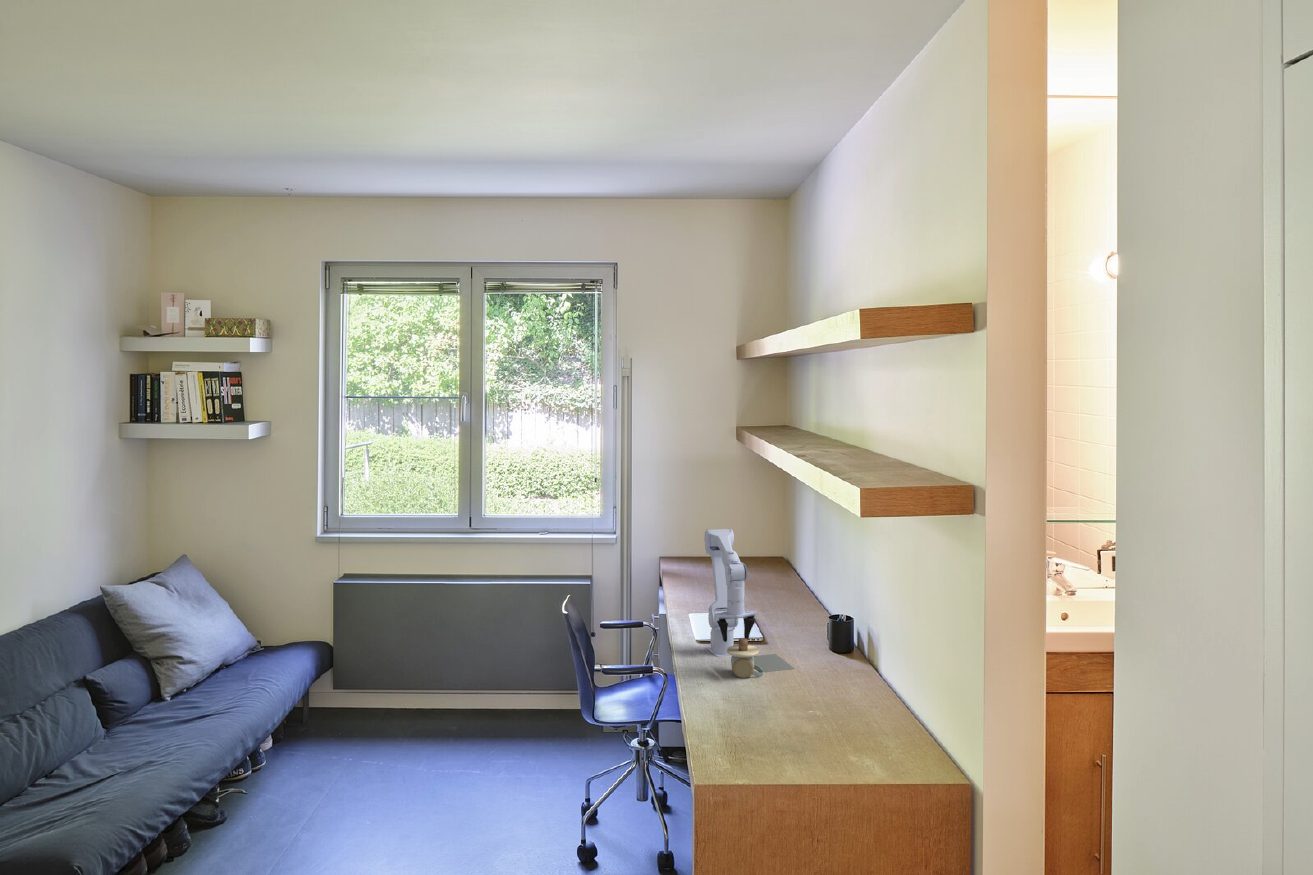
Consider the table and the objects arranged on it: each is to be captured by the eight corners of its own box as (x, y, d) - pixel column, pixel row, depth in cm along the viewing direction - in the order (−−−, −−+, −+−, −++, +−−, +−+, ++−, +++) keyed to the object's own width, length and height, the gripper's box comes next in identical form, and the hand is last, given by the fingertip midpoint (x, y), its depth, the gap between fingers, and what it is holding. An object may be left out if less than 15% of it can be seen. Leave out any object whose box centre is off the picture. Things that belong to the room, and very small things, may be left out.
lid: (723, 648, 272) (722, 636, 272) (752, 645, 275) (752, 633, 274) (733, 658, 262) (733, 645, 262) (763, 655, 265) (763, 643, 264)
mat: (743, 658, 285) (743, 656, 285) (775, 654, 288) (775, 653, 288) (761, 673, 270) (761, 672, 270) (794, 670, 273) (794, 668, 273)
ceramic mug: (731, 679, 265) (732, 656, 264) (730, 670, 273) (731, 648, 272) (764, 680, 264) (765, 657, 264) (762, 671, 272) (763, 649, 272)
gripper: (719, 604, 266) (719, 645, 267) (760, 601, 270) (760, 641, 271) (712, 599, 273) (712, 639, 274) (752, 595, 277) (752, 635, 278)
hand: (735, 639), depth 273 cm, fingers open, 7 cm apart
